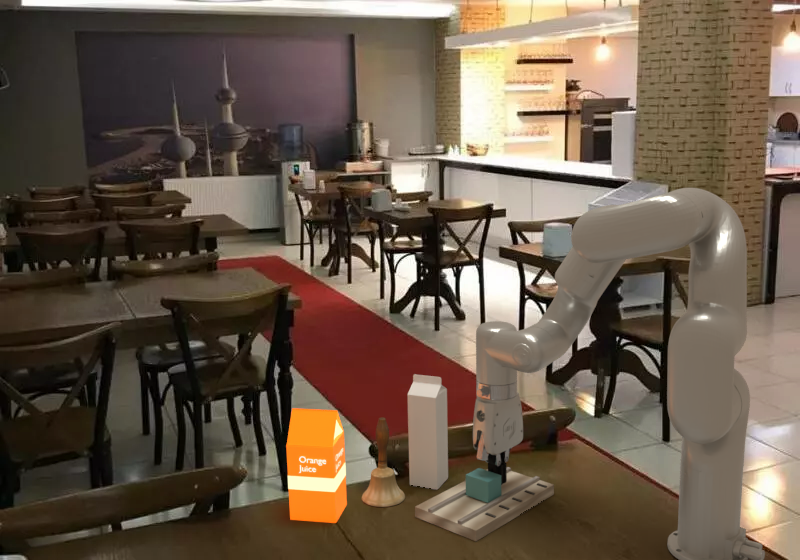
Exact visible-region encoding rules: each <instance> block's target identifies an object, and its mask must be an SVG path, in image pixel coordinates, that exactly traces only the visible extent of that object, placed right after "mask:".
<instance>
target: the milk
mask: <svg viewBox="0 0 800 560" xmlns="http://www.w3.org/2000/svg"><path fill="white" fill-rule="evenodd" d="M407 426H408V427H407V429H408V430H407V431H408V433H407V434H408V464H409V465H408V469H409V470H408V471H409V474H408V476H409V486H411V485H413V486H412V487H417V486H420V487H419V488H423V487H425V489H429V488H431V489H430V490H434V491H437V490H438V489H440V488H441V487H442V485H443V484H444V483H445V482H446V481H447V480H448V479H449V454H448V453H449V449H448V447H449V445H448V444H449V443H448V438H449V437H448V436H449V435H448V389H447V388H446V387H445V386H444V385H443V384H442V377H441V376H433V375H432V376H431V375H423V374H416V373H414V374H413V375H412V384H411V385H410V388H409V390H408V392H407ZM438 491H439V490H438Z"/></svg>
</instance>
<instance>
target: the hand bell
mask: <svg viewBox="0 0 800 560" xmlns="http://www.w3.org/2000/svg"><path fill="white" fill-rule="evenodd" d="M375 441H376V446H377V449H378V457H377V459H378V460H377V462H378V463H377V467H376V468H374V469H372V470H371V472H370V479H369V484H368V487H367V488H366V490H364V492H363V493H362V496H361V501H362V502H363V503H364V504H366V505H367V506H368V505H369V506H371V507H376V508H377V507H378V508H388V507H393V506H394V507H395V506H396V505H398V504H399V505H400V504H401V503H402V502H403V501H404V500H405V498H406V494H405V493H404V491H403V490H402V489H400V487H399V486H398V484H397V480H396V479H397V478H396V475H395V471H394V469H393V468H390V467H388V451H387V450H388V445H389V442H390V429H389V426H388V423H387V419H386V418H385V417H378V421H377V425H376V429H375Z"/></svg>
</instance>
